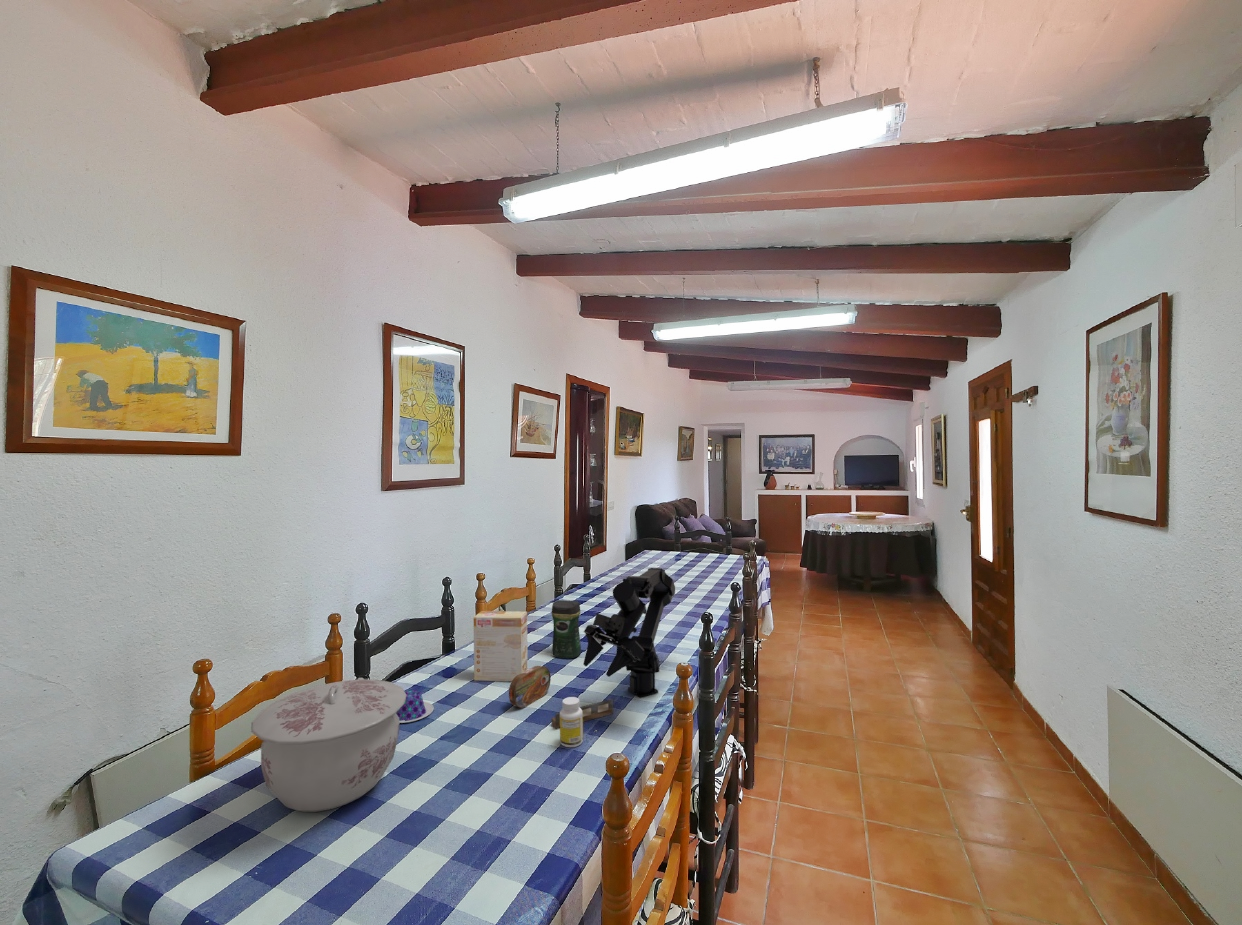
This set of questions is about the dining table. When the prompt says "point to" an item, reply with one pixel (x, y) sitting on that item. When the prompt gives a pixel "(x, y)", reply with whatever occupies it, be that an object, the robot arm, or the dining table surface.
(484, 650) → the coffeecake box
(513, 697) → the tin
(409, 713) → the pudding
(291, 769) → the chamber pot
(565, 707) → the supplement bottle
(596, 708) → the rail
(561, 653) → the coffee jar
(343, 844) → the dining table surface
